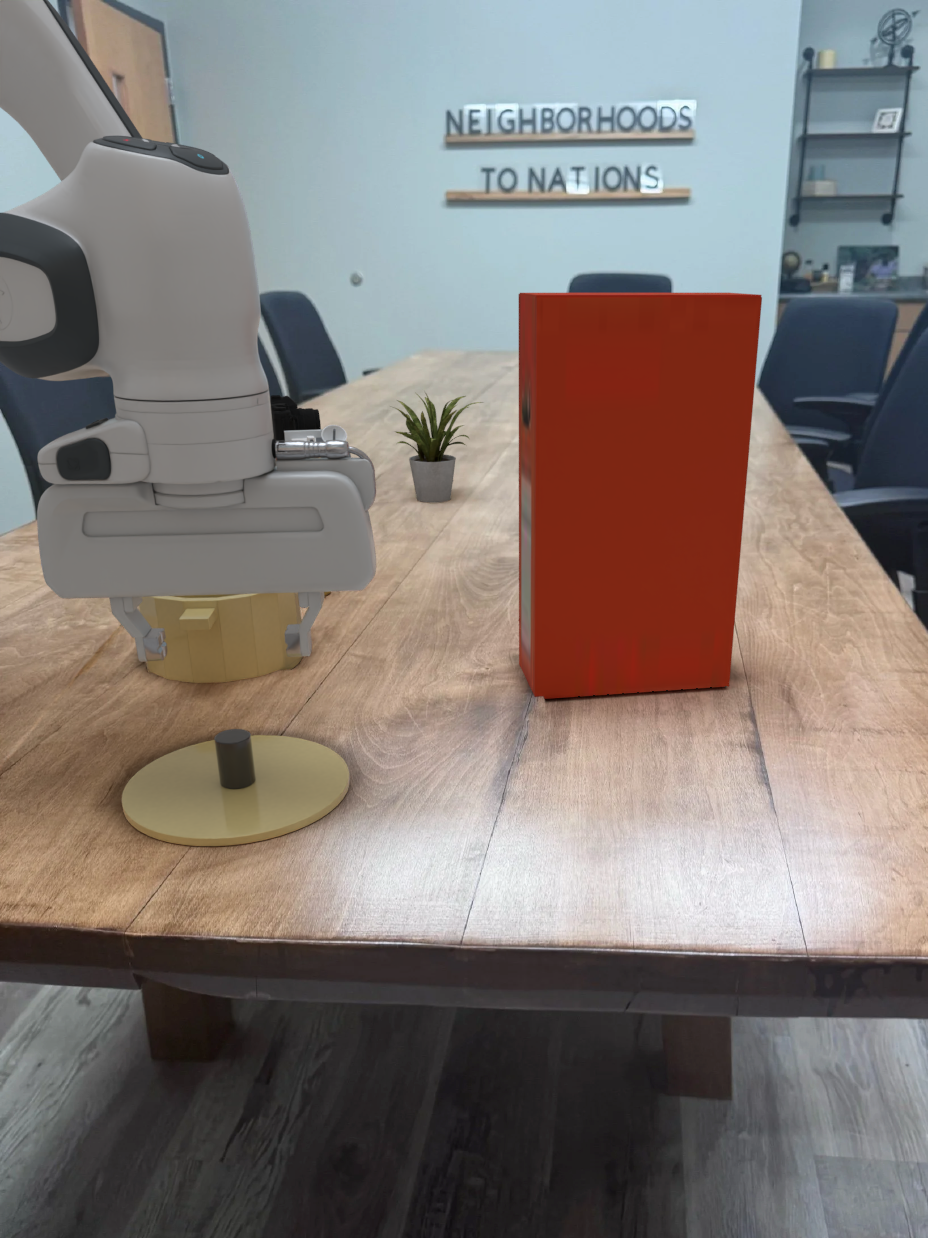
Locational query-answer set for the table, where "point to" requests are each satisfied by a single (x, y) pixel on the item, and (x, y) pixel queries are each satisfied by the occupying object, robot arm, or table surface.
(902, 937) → the table surface
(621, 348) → the file binder
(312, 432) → the toy car
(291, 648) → the robot arm
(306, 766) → the lid
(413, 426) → the house plant
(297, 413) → the film camera
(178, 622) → the pot
